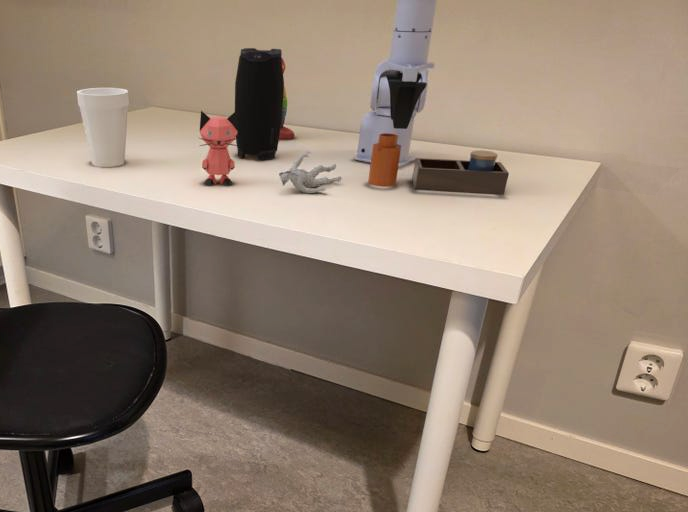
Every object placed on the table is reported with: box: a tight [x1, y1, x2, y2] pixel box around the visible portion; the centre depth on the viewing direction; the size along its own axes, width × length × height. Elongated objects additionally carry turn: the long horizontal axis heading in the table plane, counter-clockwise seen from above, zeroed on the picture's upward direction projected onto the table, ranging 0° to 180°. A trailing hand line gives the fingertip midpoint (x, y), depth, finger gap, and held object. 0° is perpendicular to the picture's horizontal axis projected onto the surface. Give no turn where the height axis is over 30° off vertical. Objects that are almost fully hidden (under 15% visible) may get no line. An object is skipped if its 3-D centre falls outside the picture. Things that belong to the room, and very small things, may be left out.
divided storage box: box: [411, 157, 510, 196], centre depth 108 cm, size 7×14×4 cm, turn 78°
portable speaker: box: [234, 47, 285, 161], centre depth 124 cm, size 9×9×20 cm
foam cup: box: [76, 87, 130, 168], centre depth 121 cm, size 10×9×13 cm
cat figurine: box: [198, 110, 239, 186], centre depth 109 cm, size 7×7×12 cm
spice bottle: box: [368, 133, 401, 187], centre depth 109 cm, size 5×5×8 cm
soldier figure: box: [278, 150, 342, 194], centre depth 108 cm, size 8×5×12 cm
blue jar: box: [468, 150, 499, 171], centre depth 107 cm, size 4×4×6 cm
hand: (398, 123), depth 105 cm, fingers open, 7 cm apart
